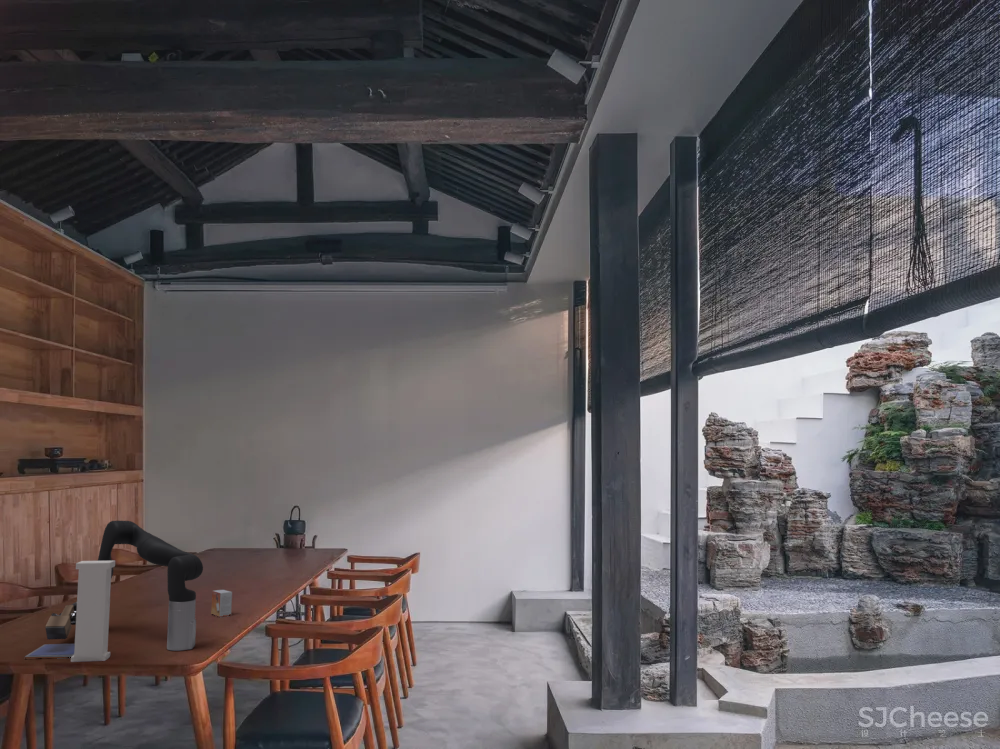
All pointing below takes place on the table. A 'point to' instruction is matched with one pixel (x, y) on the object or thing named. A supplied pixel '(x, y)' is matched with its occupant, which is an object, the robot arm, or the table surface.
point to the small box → (221, 602)
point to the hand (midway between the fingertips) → (61, 621)
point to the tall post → (92, 611)
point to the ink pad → (53, 651)
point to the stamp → (60, 624)
